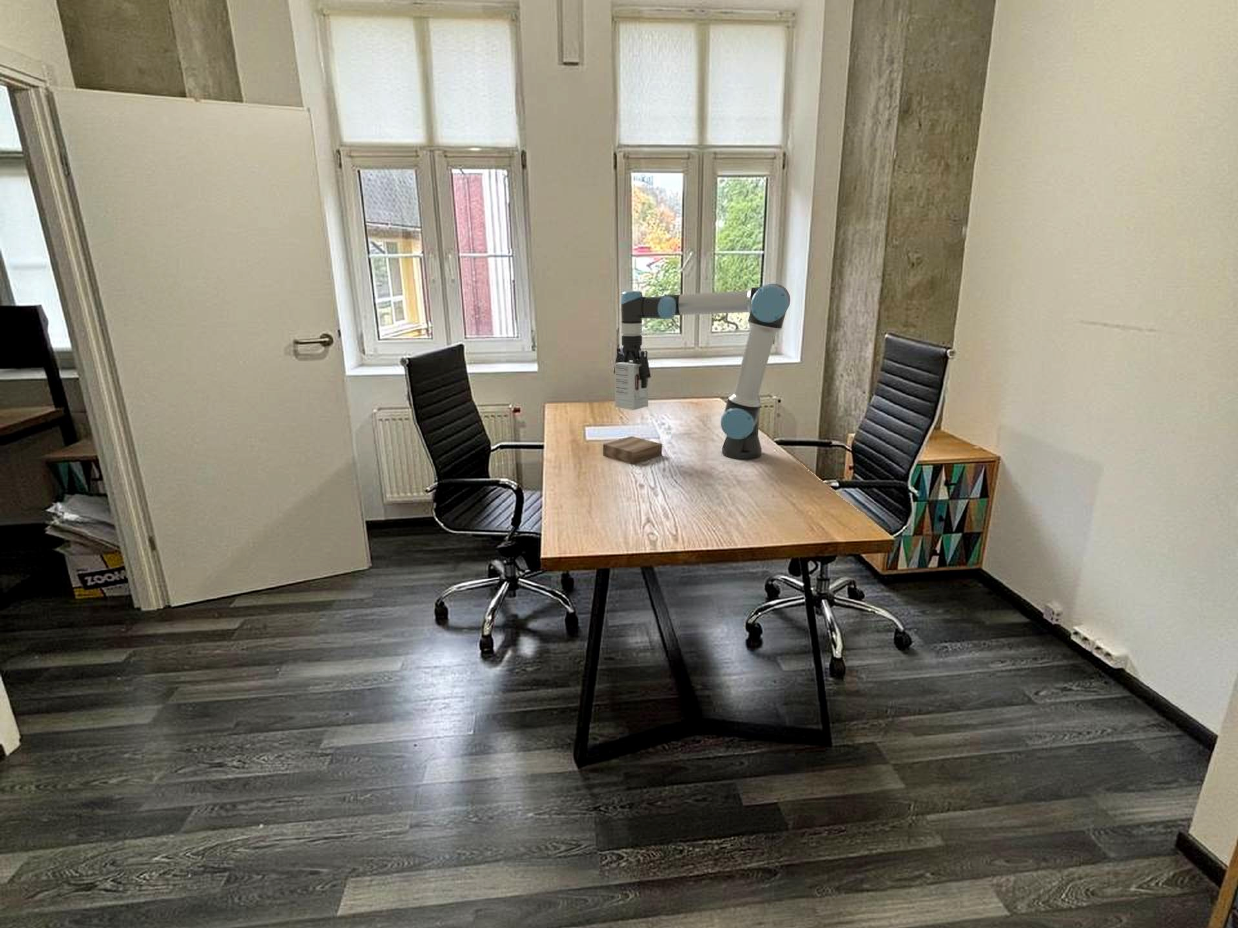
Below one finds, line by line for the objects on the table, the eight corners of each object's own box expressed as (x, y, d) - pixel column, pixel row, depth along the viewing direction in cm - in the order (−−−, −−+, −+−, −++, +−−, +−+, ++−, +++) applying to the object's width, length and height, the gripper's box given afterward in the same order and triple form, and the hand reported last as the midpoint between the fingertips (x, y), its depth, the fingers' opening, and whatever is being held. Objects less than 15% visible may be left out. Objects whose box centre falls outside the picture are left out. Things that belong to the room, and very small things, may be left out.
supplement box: (633, 410, 238) (633, 365, 233) (614, 407, 243) (613, 363, 238) (649, 406, 245) (649, 361, 240) (629, 403, 250) (629, 359, 245)
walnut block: (661, 456, 248) (661, 443, 247) (633, 465, 237) (633, 452, 236) (631, 448, 259) (631, 436, 257) (603, 456, 248) (603, 444, 247)
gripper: (661, 336, 231) (660, 397, 237) (617, 331, 246) (618, 389, 253) (646, 337, 226) (646, 400, 232) (603, 333, 241) (604, 392, 248)
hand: (631, 394), depth 243 cm, fingers closed on supplement box, 10 cm apart
